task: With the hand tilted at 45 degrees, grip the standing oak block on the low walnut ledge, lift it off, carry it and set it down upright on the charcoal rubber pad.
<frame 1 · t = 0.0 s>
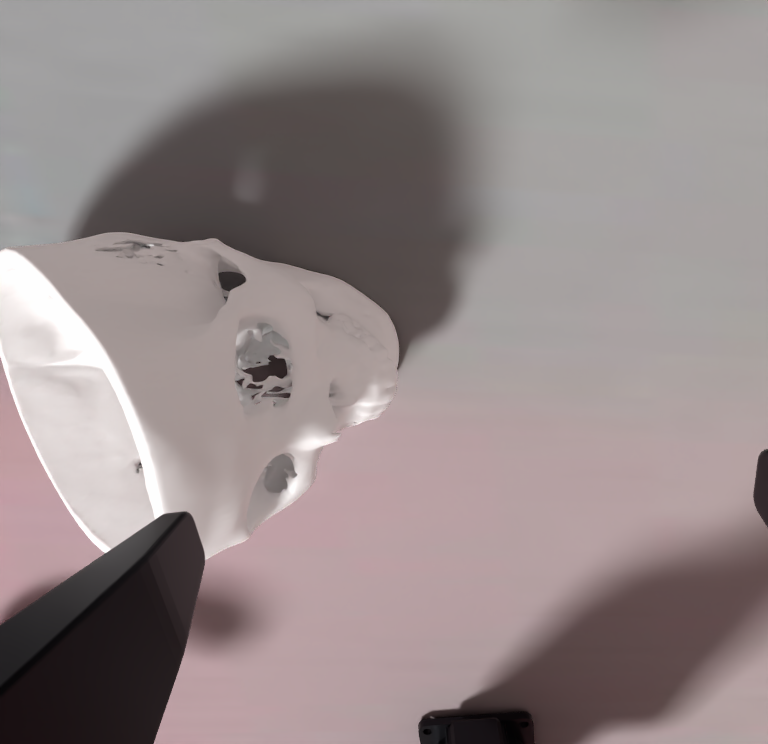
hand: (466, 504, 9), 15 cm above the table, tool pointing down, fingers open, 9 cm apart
skull bowl: (221, 343, 24), on the table
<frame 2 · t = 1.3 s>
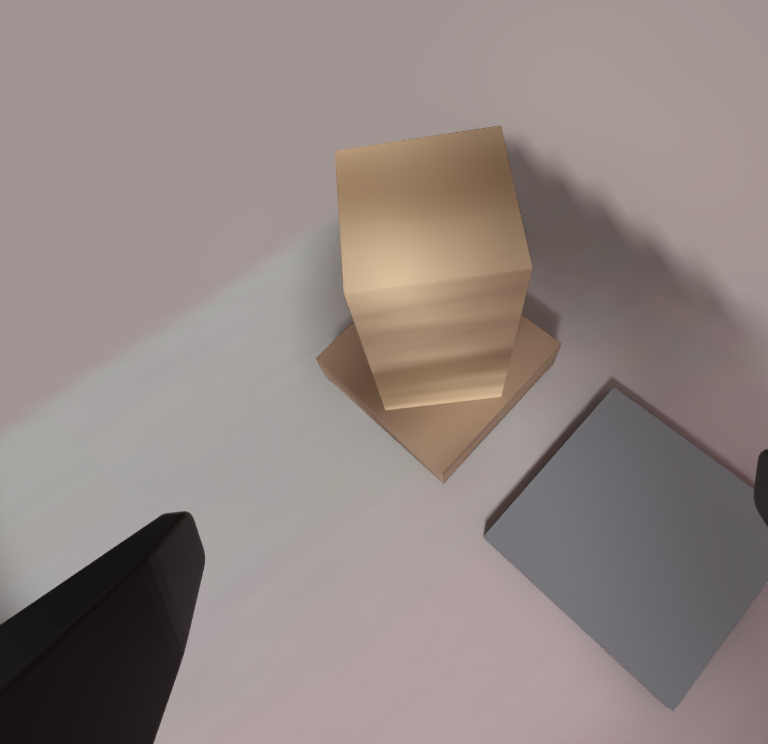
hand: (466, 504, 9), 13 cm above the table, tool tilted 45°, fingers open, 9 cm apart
oak block: (435, 351, 22), point 2 cm above the table, touching walnut ledge
charcoal pad: (635, 533, 21), on the table
walnut ledge: (437, 370, 24), on the table
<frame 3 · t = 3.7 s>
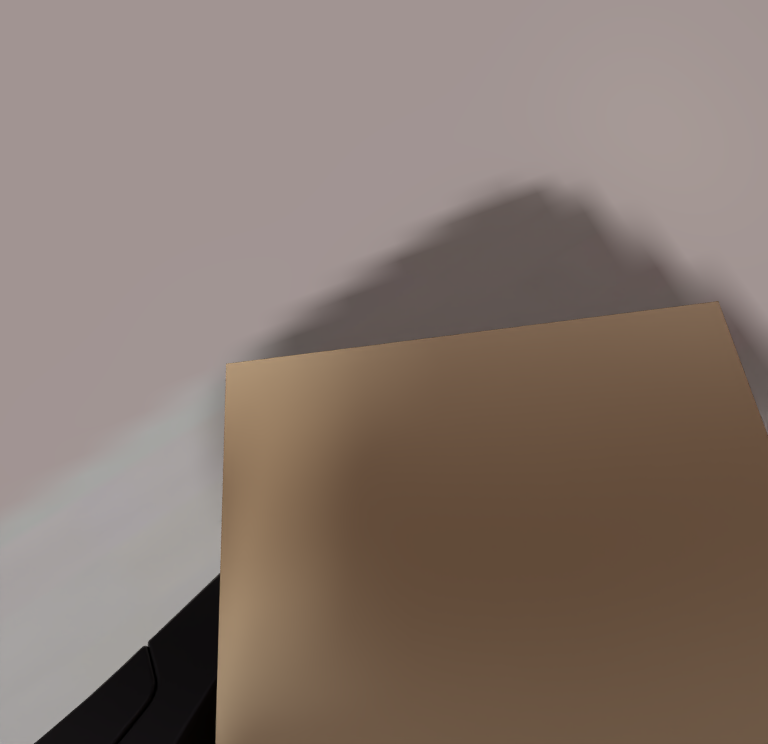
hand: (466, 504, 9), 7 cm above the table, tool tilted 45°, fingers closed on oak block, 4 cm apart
oak block: (470, 598, 12), point 2 cm above the table, touching gripper, walnut ledge
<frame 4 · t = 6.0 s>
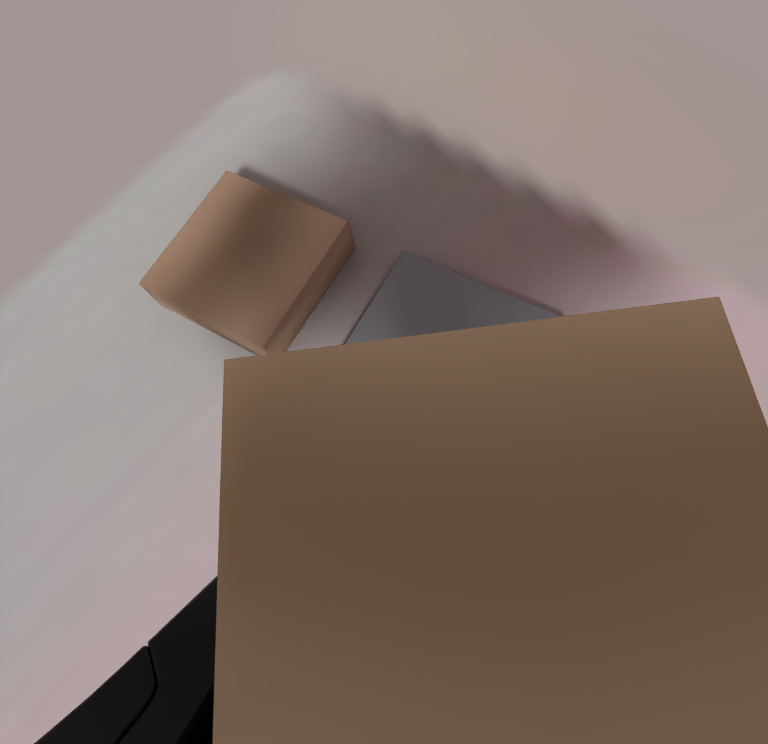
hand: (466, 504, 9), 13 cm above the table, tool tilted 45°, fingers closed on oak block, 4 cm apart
oak block: (470, 597, 12), point 9 cm above the table, touching gripper
charcoal pad: (440, 361, 24), on the table
walnut ledge: (257, 275, 27), on the table
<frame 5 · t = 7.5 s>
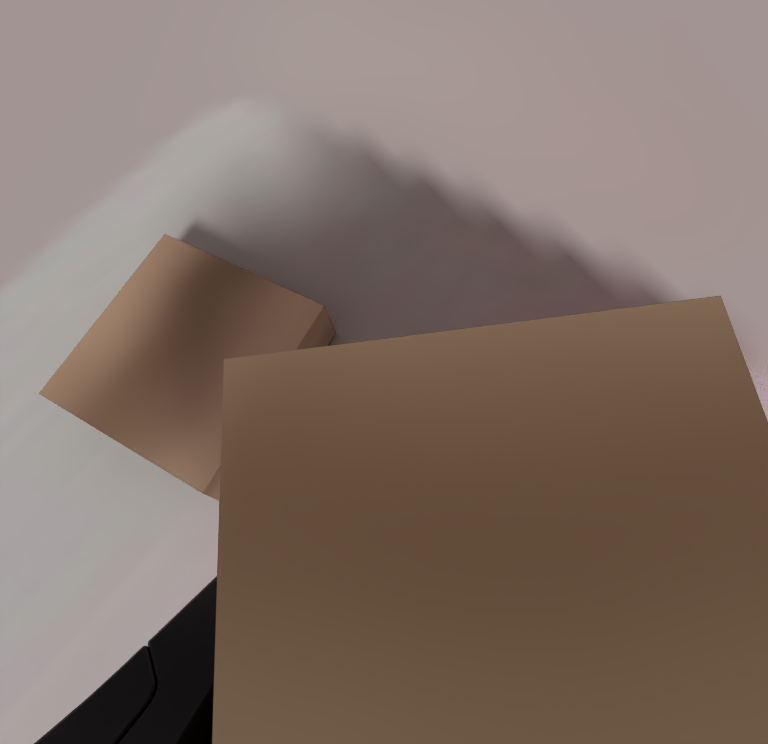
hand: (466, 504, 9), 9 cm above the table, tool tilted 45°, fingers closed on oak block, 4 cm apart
oak block: (470, 597, 12), point 4 cm above the table, touching gripper
walnut ledge: (206, 372, 20), on the table
when the fingers open (6 cm above the table, at t = 8.6 s): oak block drops 1 cm, resting on charcoal pad.
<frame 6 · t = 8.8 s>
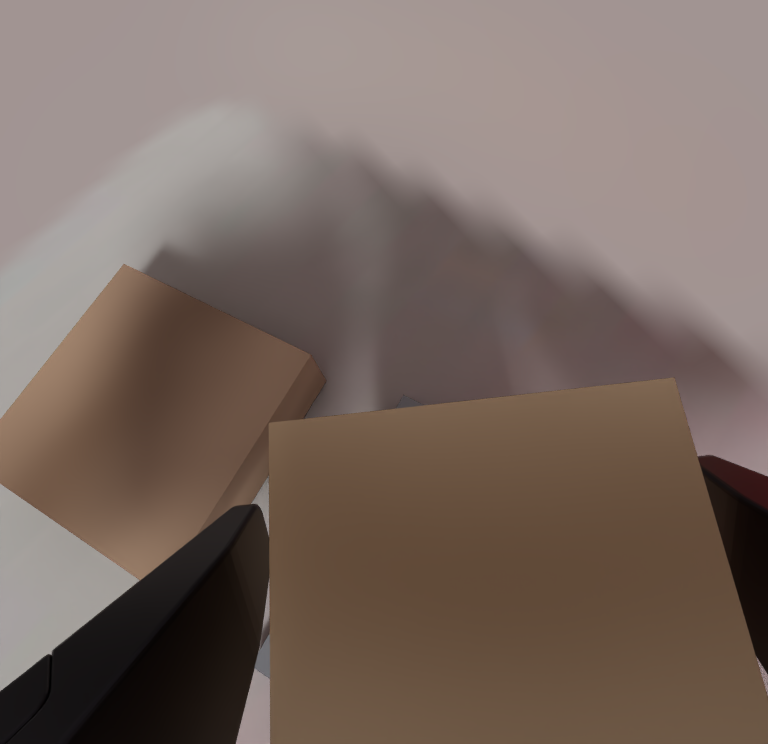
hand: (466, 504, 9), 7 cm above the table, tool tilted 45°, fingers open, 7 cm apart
oak block: (468, 597, 14), point 1 cm above the table, touching charcoal pad
charcoal pad: (467, 598, 14), on the table
walnut ledge: (173, 428, 17), on the table
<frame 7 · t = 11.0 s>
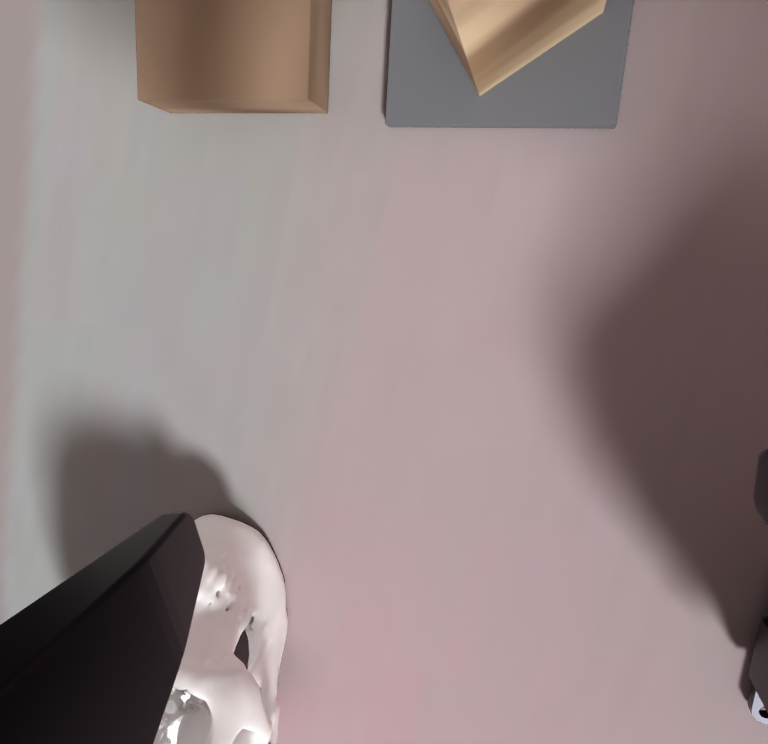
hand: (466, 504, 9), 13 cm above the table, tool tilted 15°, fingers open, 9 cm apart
skull bowl: (218, 644, 28), on the table
charcoal pad: (508, 4, 19), on the table
walnut ledge: (246, 16, 21), on the table
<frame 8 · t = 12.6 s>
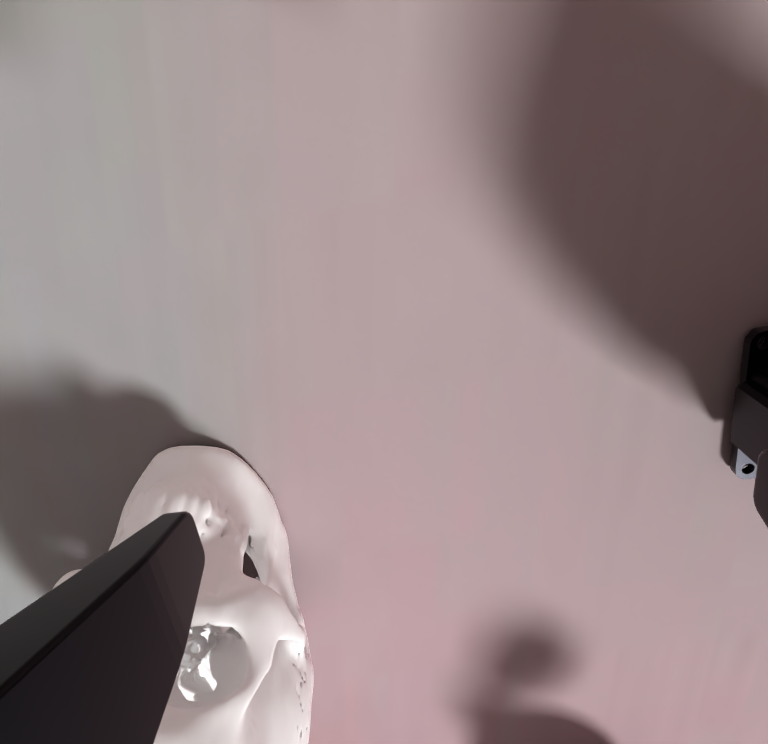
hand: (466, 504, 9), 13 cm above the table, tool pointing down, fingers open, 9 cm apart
skull bowl: (217, 577, 27), on the table
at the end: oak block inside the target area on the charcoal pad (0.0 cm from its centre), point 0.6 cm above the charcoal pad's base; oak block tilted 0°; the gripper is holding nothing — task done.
